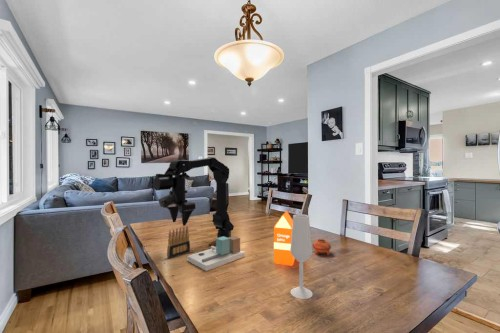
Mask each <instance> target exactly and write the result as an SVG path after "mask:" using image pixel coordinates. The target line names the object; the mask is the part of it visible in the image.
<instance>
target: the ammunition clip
mask: <svg viewBox="0 0 500 333" xmlns="http://www.w3.org/2000/svg"><path fill="white" fill-rule="evenodd" d="M190 244H191V243H190V234H189V226H188V225H186V226H183V227H182V228H181V227H180V228H179V229H178V228H176V229H174V228H173V229H172V231H171V229H170V230H169V232H168V240H167V254H166V255H167V256H166V257H167V258H168V259H172V258H176V257H178V256H181V255H184V254H187V253H190V252H191V245H190Z"/></svg>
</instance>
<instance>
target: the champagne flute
mask: <svg viewBox="0 0 500 333" xmlns="http://www.w3.org/2000/svg"><path fill="white" fill-rule="evenodd" d="M292 220H293V225H292V237H291V248H290V252H291V254H292V255H293V257H294V258H295V261H297V262H299V264H298V267H299V278H298V279H299V286H297V287H294V288H291V290H290V295H291V296H293V297H294V298H296V299H301V300H307V299H310V298H312V296H313V292H312V291H311V290H310V289H309V288H307V287H305V286H304V263H305V262H306V261H308V259H310V258H311V256H312V254H313V243H312V235H311V224H310V216H309V215H307V214H304V213H303V214H302V213H300V214H299V213H297V214H293V215H292Z"/></svg>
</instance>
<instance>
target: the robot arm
mask: <svg viewBox="0 0 500 333" xmlns="http://www.w3.org/2000/svg"><path fill="white" fill-rule="evenodd" d="M203 167H208V169H209V170H210V172H212V176H213V179H214V182H216V183H215V184H216V211H215V213H213V214H212V221H211V222H212V223H213V225H214V227H215V230H217V237H216V238H219V237H223V236H224V237H227V238H229V237H232V231H233V230H234V227H235V225H234V224H233V223H232V222H231V220H230V214H229V212H228V211H227V182H228V180H229V178H230V168H229V167H228V166H227V165H225V164H224V163H222V162H221V161H219V160H218V159H217V158H216V157H214V156H211V157H210V156H209V157H205V158H199V159H198V158H197V159H191V160H189V159H187V160H186V159H173V160H172V161H170V163H169V166H168V168H167V169H166V170H165V172H164V174H163V173H155V177H154V179H153V182H152V185H153V189H154V190H155V191H163V190H164V191H166V190H170V191H169V194H168V195H164V196H163V197H161V198H159V199H158V204H159V206H160V208H164V209H167V210H168V211H169V213H170V217H171V220H172V223H176V222H177V218H178V214H179V213H180V214H181V215H180V216H181V223H182V226H183V227H186V226H187V223H188V221H189V219H190V217H191V215H192V213H193V212H194V211H195V210H196V203H195V202H192V201H188V200H187V198H186V194H188V190H186V179H188V178H190V175H189V174H188V173H187V172H190V171H191V170H193V169H196V168H203Z"/></svg>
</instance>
